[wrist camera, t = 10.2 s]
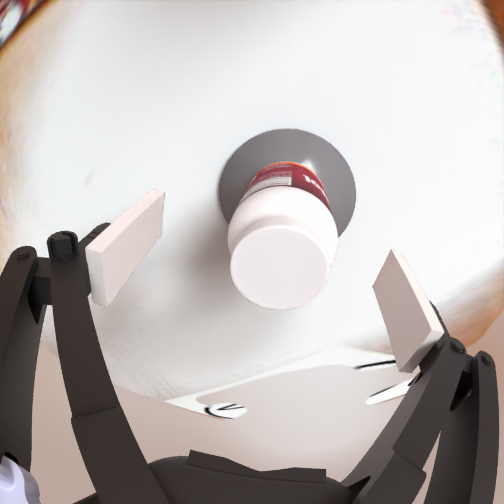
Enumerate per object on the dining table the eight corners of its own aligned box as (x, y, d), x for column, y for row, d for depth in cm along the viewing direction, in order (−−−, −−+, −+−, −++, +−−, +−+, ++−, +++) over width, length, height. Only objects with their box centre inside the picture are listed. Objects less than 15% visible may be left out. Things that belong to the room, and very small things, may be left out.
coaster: (212, 237, 26) (210, 239, 26) (235, 114, 21) (234, 114, 20) (329, 267, 26) (330, 270, 26) (372, 152, 21) (374, 153, 20)
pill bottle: (334, 220, 23) (357, 308, 14) (264, 240, 25) (243, 332, 16) (311, 148, 21) (327, 192, 11) (236, 173, 23) (191, 234, 13)
